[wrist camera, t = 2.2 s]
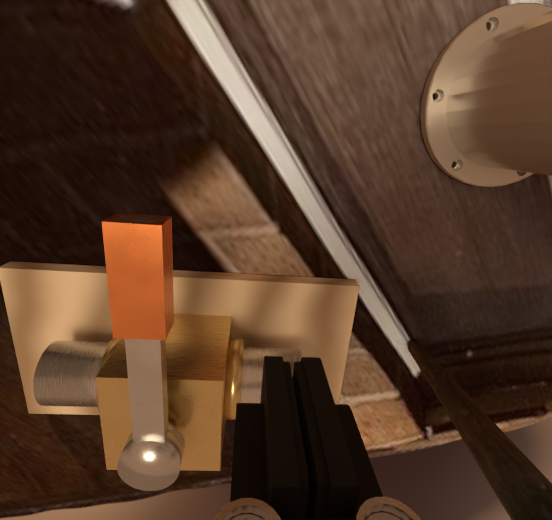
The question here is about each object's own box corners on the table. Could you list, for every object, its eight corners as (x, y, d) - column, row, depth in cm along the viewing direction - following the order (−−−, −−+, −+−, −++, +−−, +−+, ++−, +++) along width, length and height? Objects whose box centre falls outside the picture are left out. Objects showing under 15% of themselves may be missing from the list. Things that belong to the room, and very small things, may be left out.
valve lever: (185, 464, 22) (179, 490, 21) (130, 463, 22) (119, 490, 20) (181, 217, 17) (173, 226, 15) (107, 212, 17) (89, 220, 15)
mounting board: (354, 279, 31) (359, 286, 30) (332, 408, 36) (335, 419, 35) (10, 261, 29) (-3, 267, 27) (38, 401, 34) (28, 413, 32)
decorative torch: (366, 338, 33) (977, 1459, 5) (426, 299, 32) (1653, 1469, 4) (400, 382, 35) (969, 1351, 7) (458, 346, 34) (1411, 1336, 6)
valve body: (298, 318, 30) (316, 394, 21) (290, 390, 33) (303, 484, 24) (67, 309, 29) (-18, 385, 20) (78, 385, 31) (8, 482, 23)
